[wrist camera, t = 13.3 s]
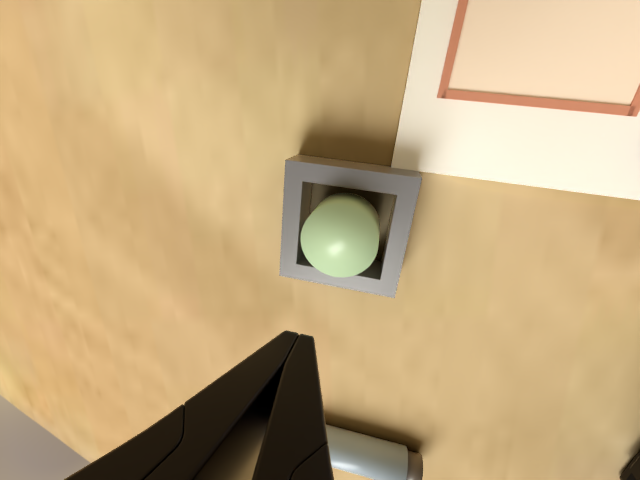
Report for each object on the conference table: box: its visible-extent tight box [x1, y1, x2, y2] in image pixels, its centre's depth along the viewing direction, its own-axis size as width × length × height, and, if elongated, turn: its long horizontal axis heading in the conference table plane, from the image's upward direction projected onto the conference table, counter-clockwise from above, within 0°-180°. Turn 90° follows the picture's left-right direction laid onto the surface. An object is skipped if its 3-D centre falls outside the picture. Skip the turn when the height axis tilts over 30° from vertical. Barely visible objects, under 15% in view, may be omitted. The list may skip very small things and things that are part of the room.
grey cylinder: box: [326, 424, 423, 480], centre depth 25 cm, size 9×3×3 cm, turn 84°
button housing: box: [279, 154, 422, 298], centre depth 18 cm, size 7×7×2 cm
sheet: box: [391, 0, 640, 200], centre depth 14 cm, size 15×13×1 cm
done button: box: [301, 193, 380, 277], centre depth 17 cm, size 4×4×2 cm
